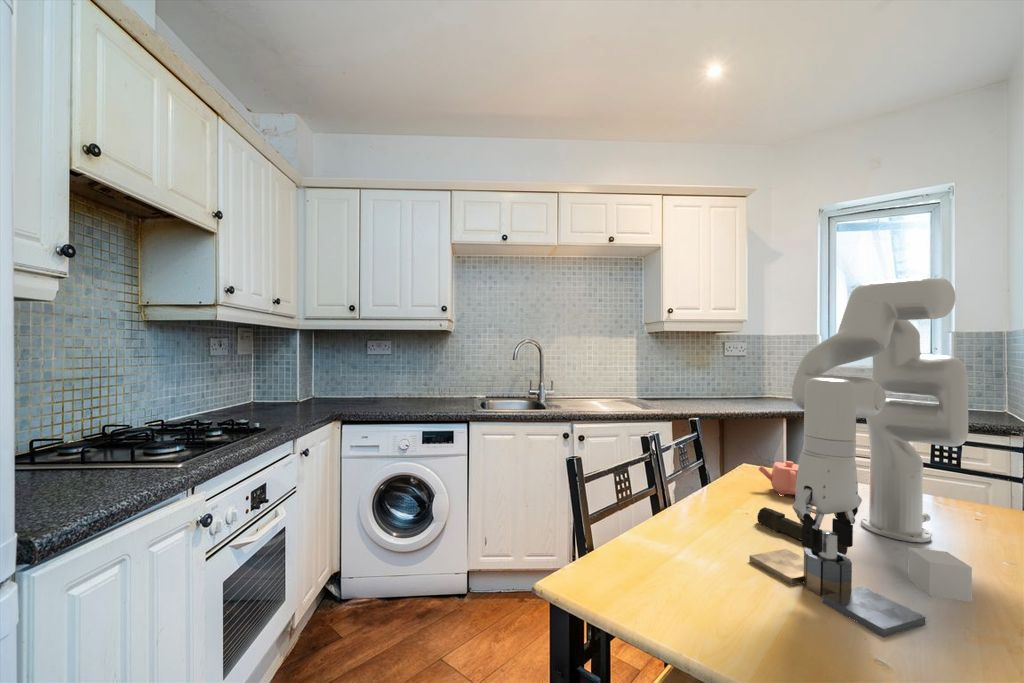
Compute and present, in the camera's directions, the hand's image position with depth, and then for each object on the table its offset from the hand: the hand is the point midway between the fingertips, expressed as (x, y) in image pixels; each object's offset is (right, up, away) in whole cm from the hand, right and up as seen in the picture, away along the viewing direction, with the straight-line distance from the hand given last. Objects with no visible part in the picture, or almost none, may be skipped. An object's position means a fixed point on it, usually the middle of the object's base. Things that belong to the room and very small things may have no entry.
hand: (827, 545), depth 77 cm
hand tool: (+8, -9, +21) cm, 24 cm away
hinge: (0, -8, 0) cm, 8 cm away
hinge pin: (0, -8, 0) cm, 8 cm away
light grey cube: (+21, -9, +1) cm, 22 cm away
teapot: (+26, -9, +52) cm, 59 cm away
